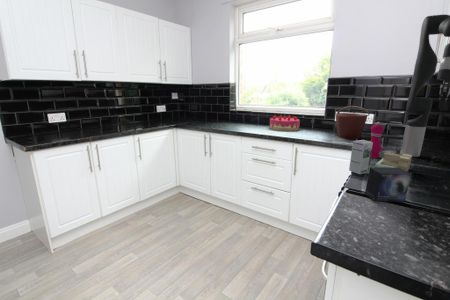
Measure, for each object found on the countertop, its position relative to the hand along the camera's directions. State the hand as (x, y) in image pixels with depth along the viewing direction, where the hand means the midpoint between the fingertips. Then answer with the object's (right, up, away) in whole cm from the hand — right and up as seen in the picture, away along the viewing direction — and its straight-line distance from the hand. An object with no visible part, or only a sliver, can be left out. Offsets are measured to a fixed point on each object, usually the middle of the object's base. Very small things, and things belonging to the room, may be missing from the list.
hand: (441, 108), depth 107 cm
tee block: (-17, -28, +6) cm, 33 cm away
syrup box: (-37, -29, +1) cm, 47 cm away
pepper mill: (-14, -23, +27) cm, 38 cm away
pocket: (-19, -28, +8) cm, 34 cm away
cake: (-41, +2, +123) cm, 130 cm away
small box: (-43, -36, -25) cm, 62 cm away
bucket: (+2, -9, +84) cm, 84 cm away
